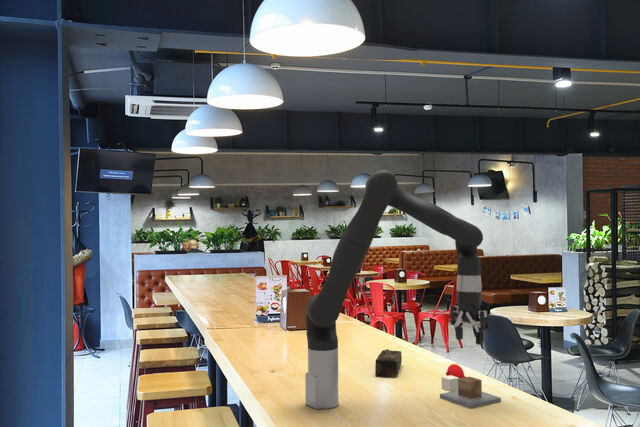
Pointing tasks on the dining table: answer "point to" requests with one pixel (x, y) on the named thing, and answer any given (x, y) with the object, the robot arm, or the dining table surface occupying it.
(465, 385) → the walnut block
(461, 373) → the red rounded lumpy piece
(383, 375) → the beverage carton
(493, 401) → the plate
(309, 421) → the dining table surface
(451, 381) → the cream block
